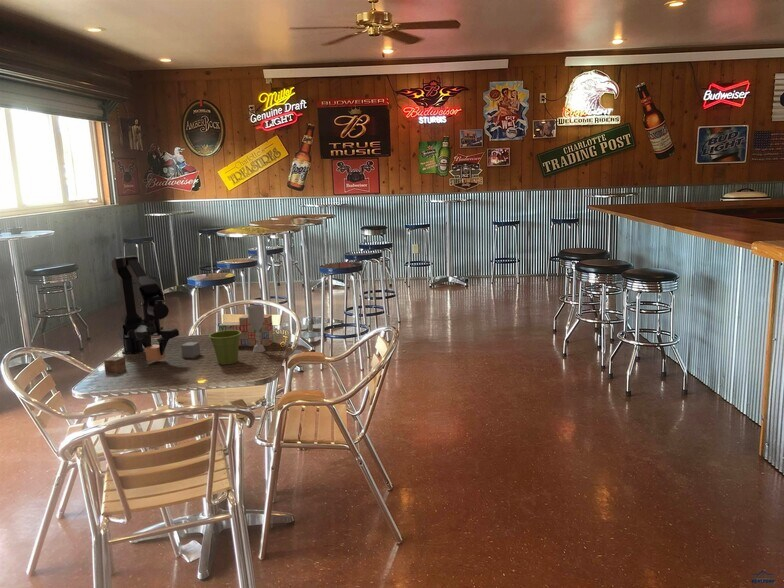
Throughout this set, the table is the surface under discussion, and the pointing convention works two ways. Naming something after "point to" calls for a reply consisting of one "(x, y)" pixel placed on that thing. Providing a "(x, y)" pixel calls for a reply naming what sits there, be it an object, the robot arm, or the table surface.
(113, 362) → the walnut cube
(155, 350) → the terracotta cube
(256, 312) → the chalice
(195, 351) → the slate cube
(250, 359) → the table surface
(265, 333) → the stack of blocks
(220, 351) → the plant pot
